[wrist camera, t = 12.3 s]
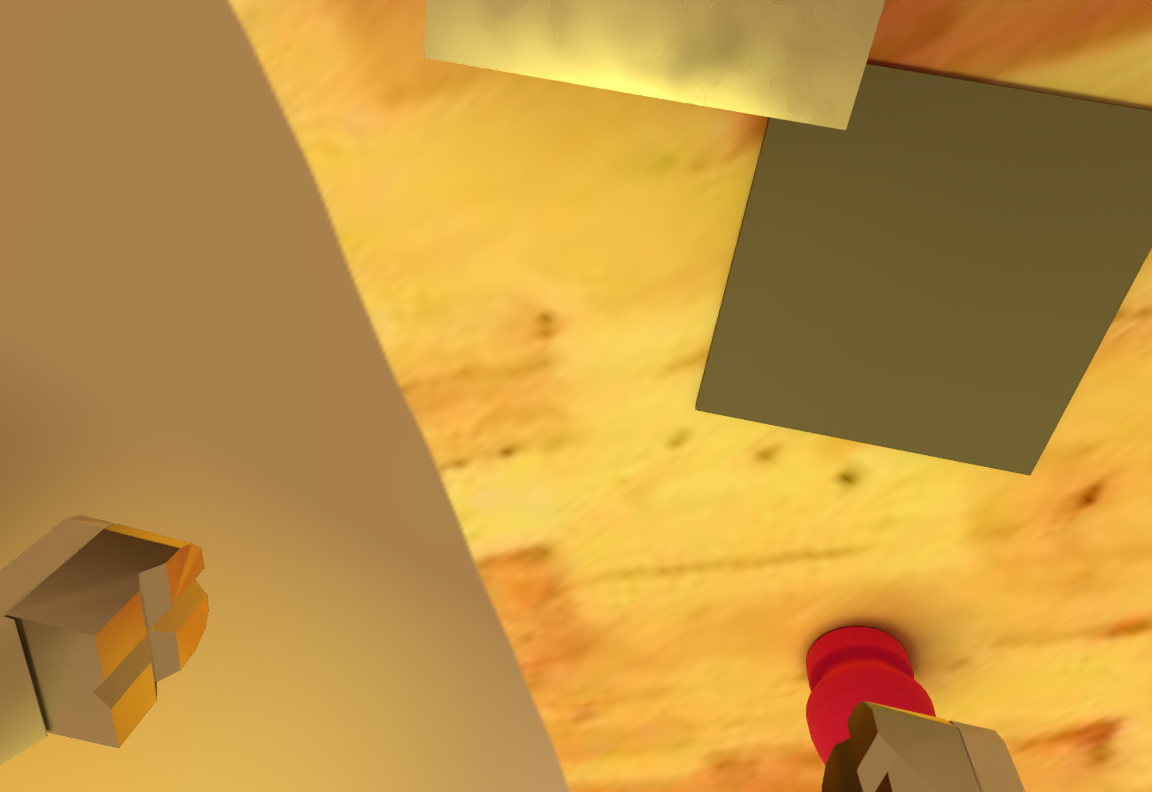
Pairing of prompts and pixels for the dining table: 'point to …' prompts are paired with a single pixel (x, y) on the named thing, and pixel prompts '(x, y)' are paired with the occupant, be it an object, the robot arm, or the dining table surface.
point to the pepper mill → (857, 682)
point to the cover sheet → (674, 49)
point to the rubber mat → (932, 267)
